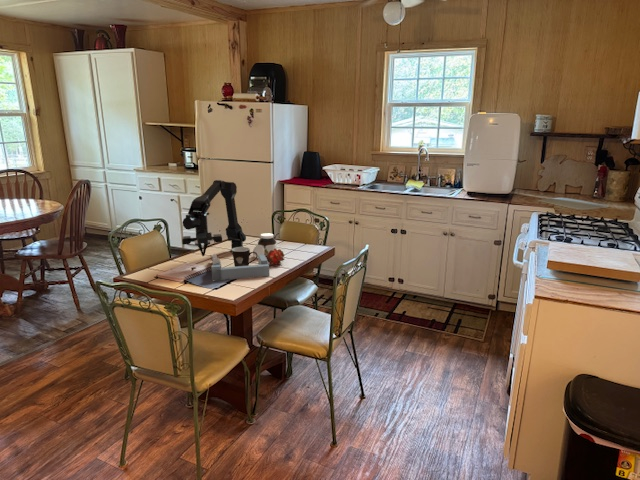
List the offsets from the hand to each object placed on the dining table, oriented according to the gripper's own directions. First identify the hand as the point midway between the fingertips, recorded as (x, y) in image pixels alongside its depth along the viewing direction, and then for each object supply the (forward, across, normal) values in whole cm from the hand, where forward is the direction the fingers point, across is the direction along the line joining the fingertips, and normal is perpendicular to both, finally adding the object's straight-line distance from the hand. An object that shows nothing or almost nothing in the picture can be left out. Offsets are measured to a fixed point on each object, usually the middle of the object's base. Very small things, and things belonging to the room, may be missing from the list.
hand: (203, 256), depth 221 cm
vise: (+6, +16, -15) cm, 23 cm away
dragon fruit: (+6, +35, -5) cm, 36 cm away
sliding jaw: (+5, +6, -5) cm, 9 cm away
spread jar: (+6, +32, +11) cm, 34 cm away
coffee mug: (+6, +19, -9) cm, 21 cm away
